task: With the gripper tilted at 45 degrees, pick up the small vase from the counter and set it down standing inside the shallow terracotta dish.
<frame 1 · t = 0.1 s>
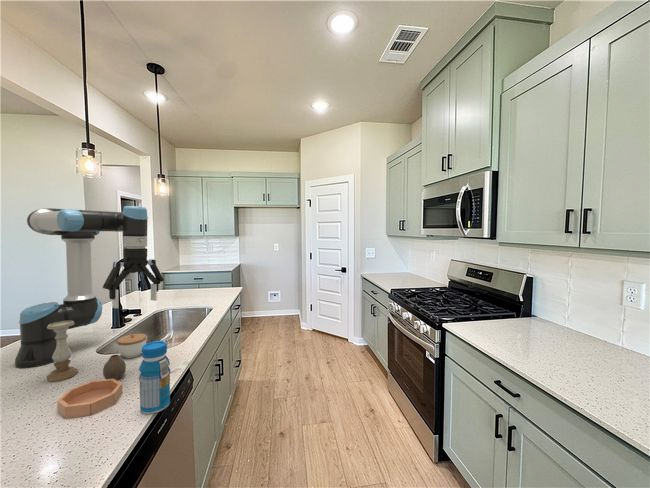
hand: (135, 303, 107), 28 cm above the countertop, tool pointing down, fingers open, 13 cm apart
candle holder: (62, 376, 107), on the countertop
fork: (168, 375, 110), on the countertop
lidded jar: (132, 355, 126), on the countertop
beverage bottle: (155, 407, 89), on the countertop
vase: (114, 379, 106), on the countertop
terracotta dish: (91, 402, 91), on the countertop
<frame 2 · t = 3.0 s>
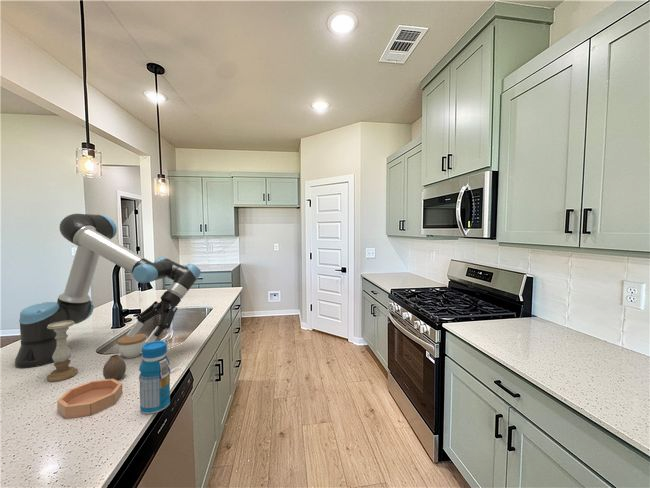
hand: (138, 340, 112), 12 cm above the countertop, tool tilted 45°, fingers open, 13 cm apart
nothing on the countertop moved.
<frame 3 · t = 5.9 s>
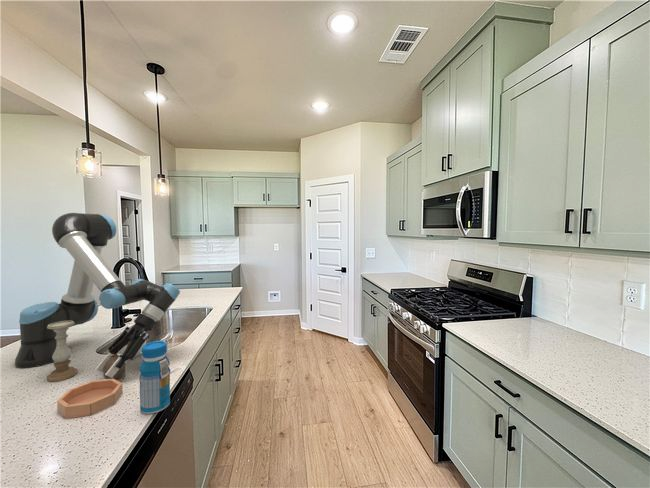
hand: (103, 373, 102), 4 cm above the countertop, tool tilted 45°, fingers closed on vase, 7 cm apart
vase: (114, 379, 106), on the countertop, touching gripper
everything else where it was.
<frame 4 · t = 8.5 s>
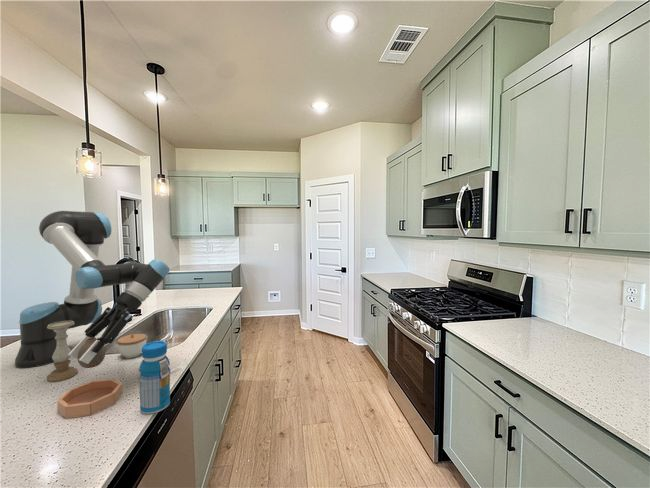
hand: (77, 359, 88), 15 cm above the countertop, tool tilted 45°, fingers closed on vase, 7 cm apart
vase: (92, 366, 91), point 12 cm above the countertop, touching gripper
everything else where it was.
when the fingers open (6 cm above the countertop, at t = 11.1 s): vase drops 1 cm, resting on terracotta dish.
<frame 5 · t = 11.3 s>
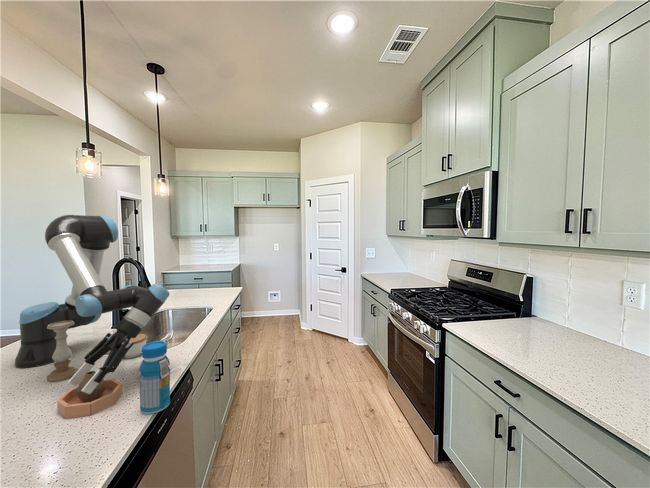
hand: (78, 388, 88), 6 cm above the countertop, tool tilted 45°, fingers open, 9 cm apart
vase: (92, 399, 91), point 1 cm above the countertop, touching terracotta dish
everything else where it was.
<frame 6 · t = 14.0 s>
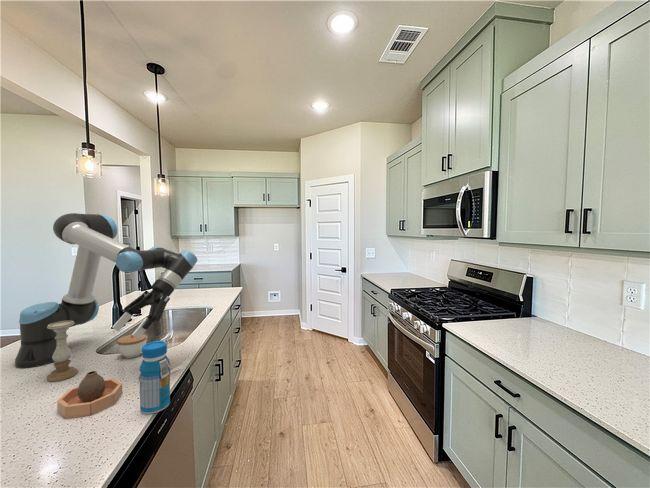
hand: (124, 333, 99), 20 cm above the countertop, tool tilted 45°, fingers open, 13 cm apart
nothing on the countertop moved.
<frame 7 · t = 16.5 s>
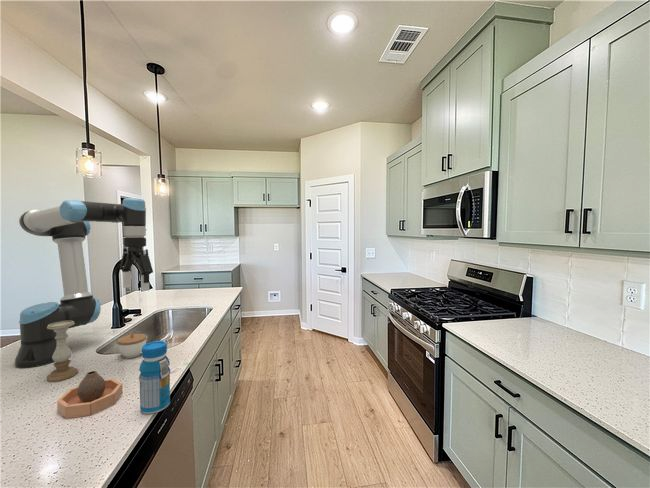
hand: (136, 289, 115), 32 cm above the countertop, tool pointing down, fingers open, 13 cm apart
nothing on the countertop moved.
at the end: vase inside the target area on the terracotta dish (0.1 cm from its centre), point 0.8 cm above the terracotta dish's base; vase tilted 0°; the gripper is holding nothing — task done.
